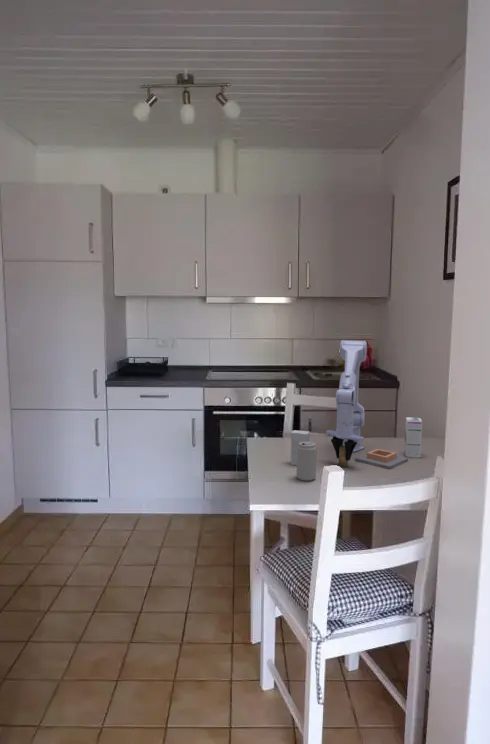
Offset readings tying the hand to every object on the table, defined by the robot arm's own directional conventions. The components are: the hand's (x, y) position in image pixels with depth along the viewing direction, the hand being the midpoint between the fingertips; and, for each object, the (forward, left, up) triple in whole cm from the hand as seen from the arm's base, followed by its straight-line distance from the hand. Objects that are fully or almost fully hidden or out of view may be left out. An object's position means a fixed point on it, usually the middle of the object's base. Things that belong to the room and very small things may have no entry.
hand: (343, 458), depth 184 cm
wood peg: (0, 0, -2) cm, 2 cm away
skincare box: (-12, -10, -3) cm, 16 cm away
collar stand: (+7, +15, -2) cm, 17 cm away
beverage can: (-1, -21, -3) cm, 21 cm away
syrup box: (+12, +30, -3) cm, 32 cm away
